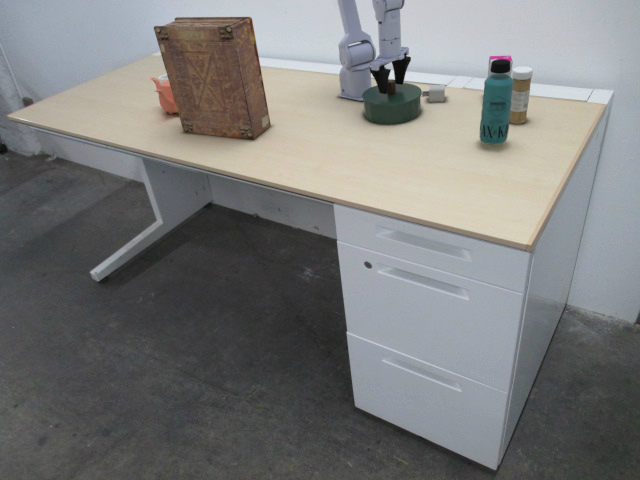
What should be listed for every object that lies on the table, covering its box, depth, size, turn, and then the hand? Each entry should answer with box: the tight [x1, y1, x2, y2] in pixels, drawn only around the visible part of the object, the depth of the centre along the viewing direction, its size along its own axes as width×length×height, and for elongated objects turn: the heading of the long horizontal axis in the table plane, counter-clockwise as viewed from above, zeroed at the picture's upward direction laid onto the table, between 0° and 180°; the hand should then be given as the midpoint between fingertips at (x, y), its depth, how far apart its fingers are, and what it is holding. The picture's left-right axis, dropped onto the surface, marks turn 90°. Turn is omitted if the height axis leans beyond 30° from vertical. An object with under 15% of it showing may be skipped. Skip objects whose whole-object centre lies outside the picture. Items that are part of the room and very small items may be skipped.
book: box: [153, 16, 272, 140], centre depth 141 cm, size 25×9×30 cm, turn 64°
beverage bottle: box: [479, 59, 514, 145], centre depth 117 cm, size 6×7×20 cm
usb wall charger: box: [420, 84, 446, 103], centre depth 149 cm, size 4×7×4 cm, turn 79°
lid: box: [362, 79, 423, 106], centre depth 141 cm, size 16×16×4 cm
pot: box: [363, 96, 421, 125], centre depth 144 cm, size 15×15×5 cm
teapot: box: [149, 77, 178, 115], centre depth 164 cm, size 14×14×11 cm
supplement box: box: [486, 55, 514, 79], centre depth 141 cm, size 6×6×12 cm
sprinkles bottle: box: [509, 66, 534, 125], centre depth 128 cm, size 5×5×14 cm
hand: (391, 88), depth 141 cm, fingers open, 7 cm apart
